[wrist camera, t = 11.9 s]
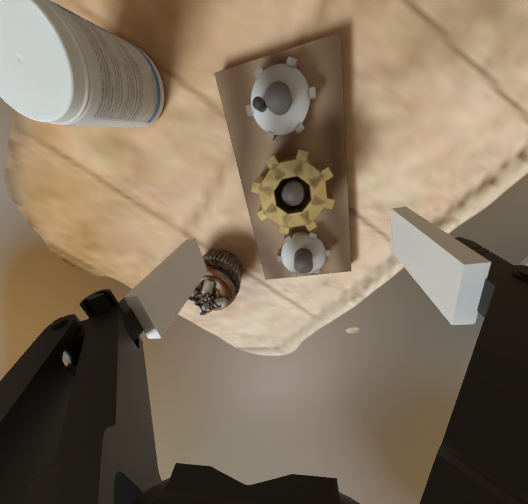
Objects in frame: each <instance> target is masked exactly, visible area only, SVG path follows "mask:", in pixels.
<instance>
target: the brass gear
mask: <svg viewBox="0 0 528 504" xmlns="http://www.w3.org/2000/svg"><path fill="white" fill-rule="evenodd" d="M308 153H309V152H308V150H307V149H302V148H298V151H297V155H296V156H293V157H288V158H284V159H282V158H281V156H280V155H279V153H276V154H275V155H274V156H272V157H271V158H269V159H268V160H267V161H265V162H266V164H267V165H268V167H269V169H270V170H269V172H268V173H267V175H266V176H263V175H260V176H259V177H258V178H257V179H256V180H254V181H253V184H252V191H251V192H254V193H259V195H260V199H261V206H260V208H259V209H258V211H257V213H256V214H257V215H258V216H259V218H260V219H261V221H262V220H264V219H265V218H267V217H269V218H270V219H272V220H273V221H275V222H276V223H278V224H279V225H280V230H279V233H284V234H288V231H289V227H296V226H302V225H305V226H306V228H307V229H308V231H311V230H312V229H314V228H316V227H317V224H316V219H315V218H316V217H317V215H318V214H319V213H320V212H321V211H322V209H323V208H327V209H332V208H333V205H334V202H335V199H334V197H333V196H332V194H331V192H330V190H328V189H326V183H325V181H327V180H328V179H330V178H331V177H333V174H332V173H331V171H330V169H329V167H328V166H327V165H326V164H325V163H324V162H322V163H321V164H319V165H318V166H316V165H314V164H313V163H312V162H310V161H309V160H308V159H307V157H308ZM295 176H298V177H299V178H301V179H302V180H304V181H305V182H306V183H308V184H309V191H308V192H307V194H306V195H305V196H304V198H303V200H302V202H301V203H300V204H298V205H296V206H289V205H287V204H286V203H284V201H283V199H282V196H280V194H279V188H278V184H279V183H280V181H281V180H282V179H285V178H290V177H295Z"/></svg>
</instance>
